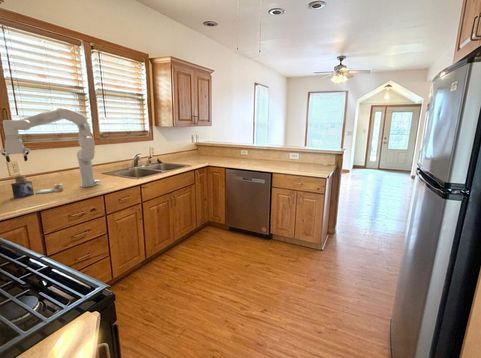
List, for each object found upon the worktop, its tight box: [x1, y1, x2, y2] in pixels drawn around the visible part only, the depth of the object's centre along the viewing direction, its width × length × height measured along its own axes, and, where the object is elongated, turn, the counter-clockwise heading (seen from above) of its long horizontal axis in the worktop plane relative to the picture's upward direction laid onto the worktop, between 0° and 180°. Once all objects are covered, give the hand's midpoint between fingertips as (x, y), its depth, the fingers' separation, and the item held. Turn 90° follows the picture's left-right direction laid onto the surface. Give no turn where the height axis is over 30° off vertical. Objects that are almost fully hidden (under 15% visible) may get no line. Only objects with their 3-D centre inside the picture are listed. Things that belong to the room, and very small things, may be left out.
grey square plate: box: [36, 187, 55, 195], centre depth 205 cm, size 10×10×1 cm
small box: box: [10, 180, 35, 199], centre depth 193 cm, size 11×6×10 cm, turn 164°
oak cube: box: [53, 183, 64, 192], centre depth 209 cm, size 5×5×5 cm
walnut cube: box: [14, 174, 28, 184], centre depth 191 cm, size 5×5×5 cm
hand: (17, 161), depth 188 cm, fingers open, 9 cm apart
